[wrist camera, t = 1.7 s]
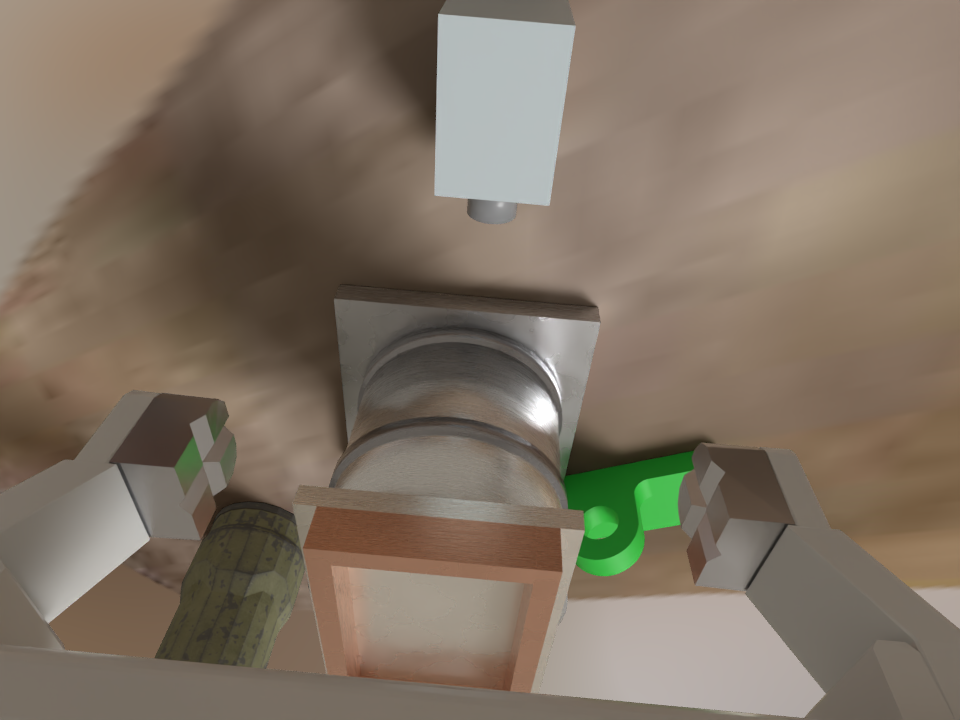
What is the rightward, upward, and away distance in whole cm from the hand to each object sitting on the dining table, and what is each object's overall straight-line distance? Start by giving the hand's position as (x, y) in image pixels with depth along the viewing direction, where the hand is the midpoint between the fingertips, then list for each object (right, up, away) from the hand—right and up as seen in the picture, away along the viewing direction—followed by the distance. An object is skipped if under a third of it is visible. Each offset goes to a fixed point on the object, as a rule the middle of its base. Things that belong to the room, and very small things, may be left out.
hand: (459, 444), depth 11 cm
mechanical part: (+13, -8, +38) cm, 41 cm away
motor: (-1, -1, +32) cm, 32 cm away
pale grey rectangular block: (+2, +16, +19) cm, 25 cm away
